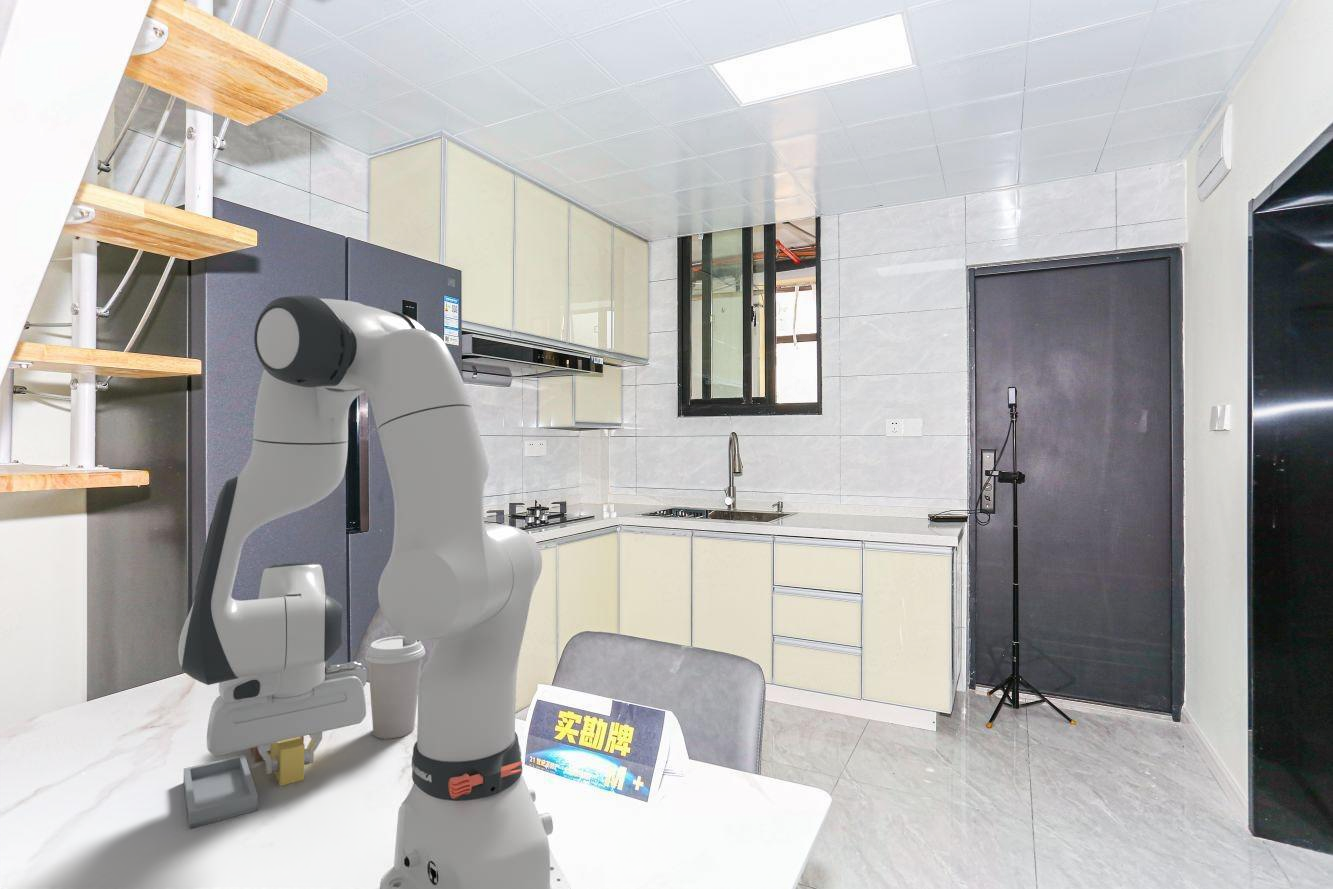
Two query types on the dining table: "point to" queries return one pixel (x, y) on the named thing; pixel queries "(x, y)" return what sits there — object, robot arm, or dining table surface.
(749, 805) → the dining table surface
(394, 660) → the coffee cup
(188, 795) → the tray
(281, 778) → the yellow rectangular block
